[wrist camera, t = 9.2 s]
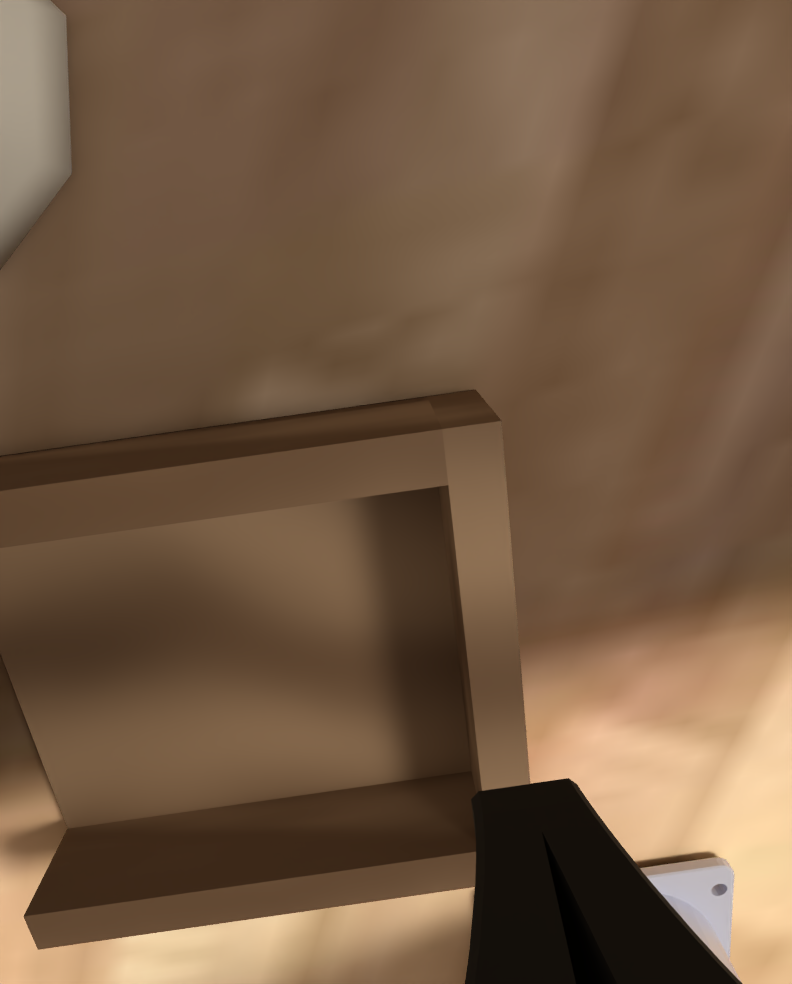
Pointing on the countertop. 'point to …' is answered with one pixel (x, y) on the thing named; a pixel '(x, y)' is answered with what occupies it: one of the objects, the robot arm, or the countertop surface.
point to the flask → (31, 115)
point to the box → (263, 661)
